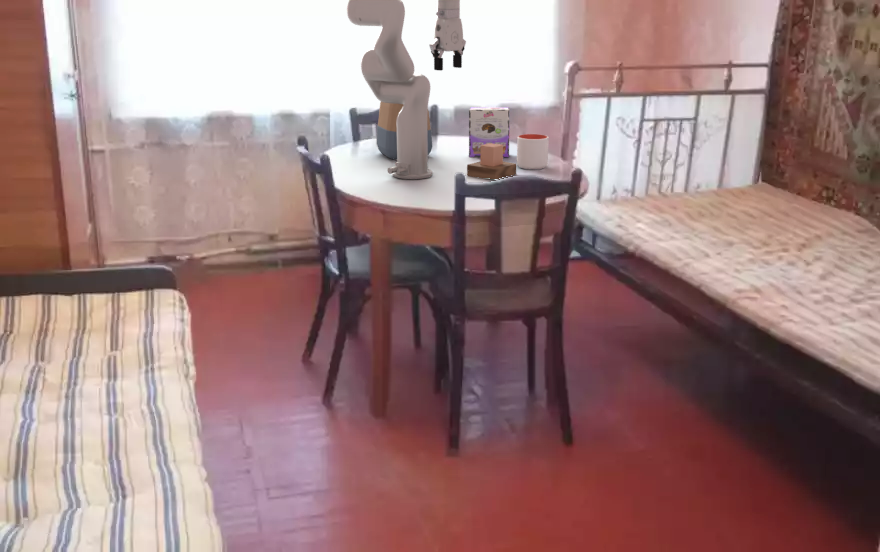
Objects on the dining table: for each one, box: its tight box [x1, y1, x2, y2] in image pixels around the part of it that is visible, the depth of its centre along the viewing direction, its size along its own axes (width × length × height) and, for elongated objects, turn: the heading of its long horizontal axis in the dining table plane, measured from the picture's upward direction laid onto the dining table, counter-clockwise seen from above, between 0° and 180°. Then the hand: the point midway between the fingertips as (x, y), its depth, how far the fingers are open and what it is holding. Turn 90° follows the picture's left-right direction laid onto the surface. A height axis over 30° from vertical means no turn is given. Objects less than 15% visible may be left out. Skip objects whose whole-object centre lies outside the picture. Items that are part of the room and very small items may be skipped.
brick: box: [480, 143, 504, 167], centre depth 295 cm, size 5×5×6 cm
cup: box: [516, 133, 550, 171], centre depth 307 cm, size 10×10×10 cm
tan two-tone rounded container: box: [376, 101, 433, 161], centre depth 323 cm, size 17×17×23 cm
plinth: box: [466, 161, 517, 180], centre depth 296 cm, size 11×11×4 cm
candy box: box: [468, 106, 511, 158], centre depth 323 cm, size 14×6×16 cm, turn 84°
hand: (448, 68), depth 309 cm, fingers open, 9 cm apart
